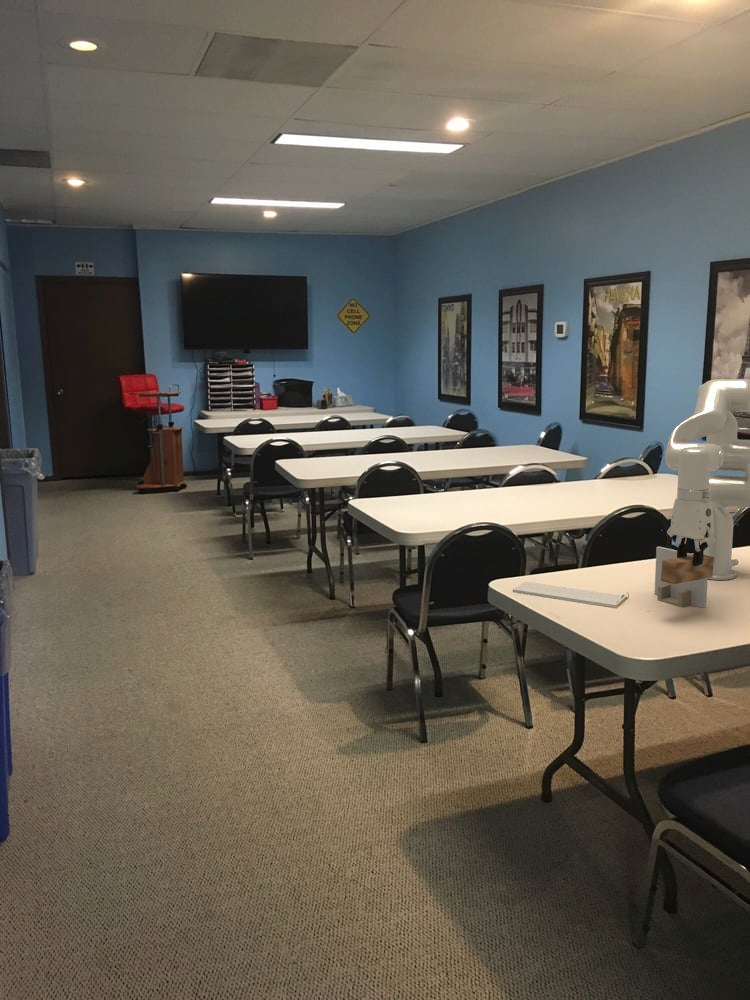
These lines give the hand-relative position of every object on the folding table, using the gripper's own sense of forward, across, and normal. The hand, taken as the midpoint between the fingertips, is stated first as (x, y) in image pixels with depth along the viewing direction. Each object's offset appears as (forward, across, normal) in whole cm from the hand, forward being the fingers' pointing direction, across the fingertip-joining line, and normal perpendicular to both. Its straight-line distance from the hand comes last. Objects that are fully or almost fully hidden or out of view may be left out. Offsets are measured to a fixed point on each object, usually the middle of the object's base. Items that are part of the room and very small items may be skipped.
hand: (689, 562), depth 204 cm
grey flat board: (+15, +31, +12) cm, 36 cm away
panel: (+15, +9, -6) cm, 18 cm away
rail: (+4, 0, +1) cm, 4 cm away
